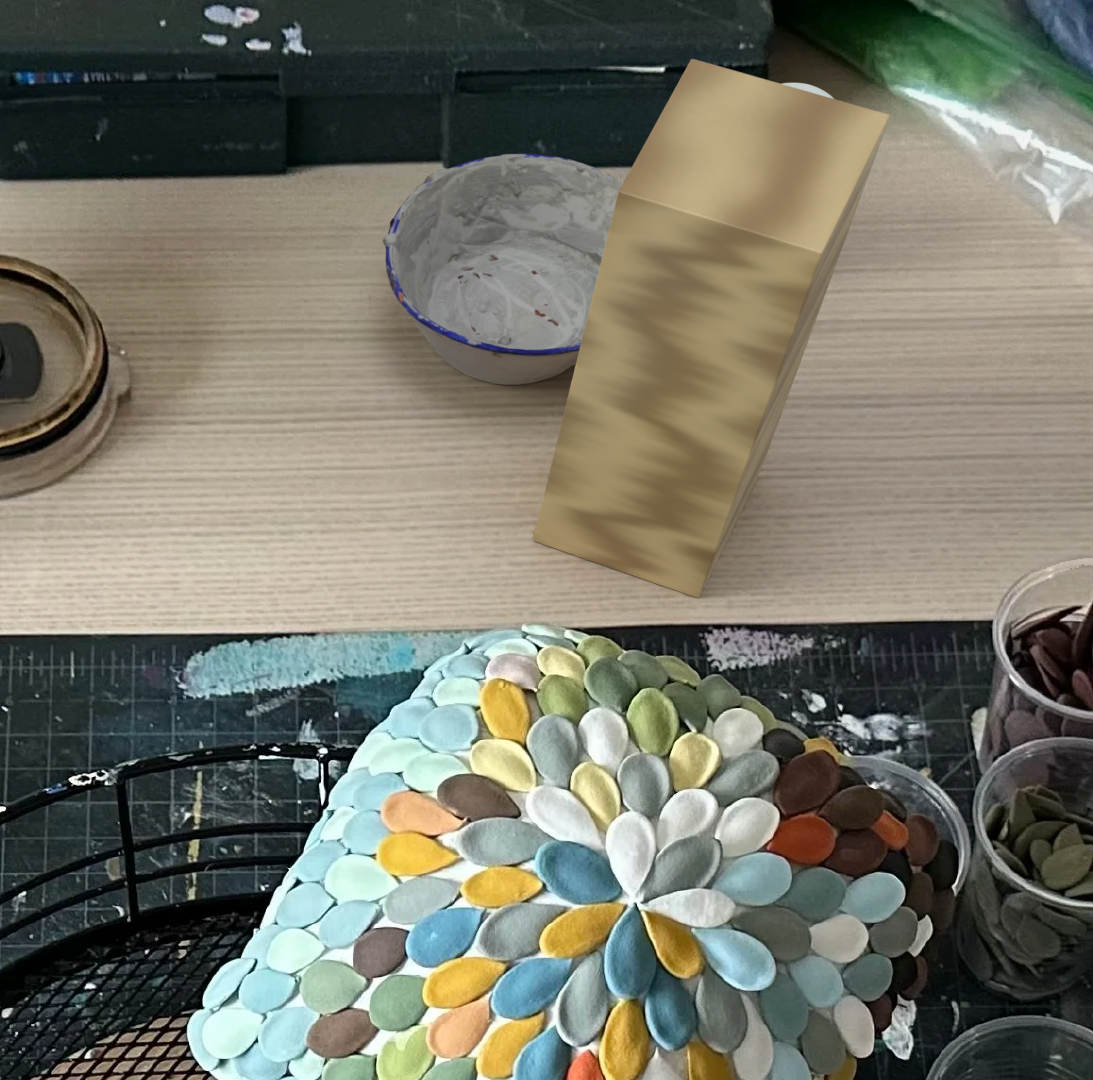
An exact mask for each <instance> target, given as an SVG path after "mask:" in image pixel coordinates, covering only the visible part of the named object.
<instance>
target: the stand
mask: <svg viewBox="0 0 1093 1080" xmlns="http://www.w3.org/2000/svg"><path fill="white" fill-rule="evenodd" d="M890 118H891V115H890V114H888V113H884V112H881V111H878V110H875V109H870V108H867V107H863V106H861V105H856V104H853V103H849V102H845V101H843V100H839V99H835V98H834V99H832V98H829V97H825V96H822V95H818V94H815V93H811V92H808V91H804V90H801V89H797V88H793V87H790V86H786V85H783V83H779V82H776V81H772V80H769V79H765V78H761V77H758V76H755V75H752V74H747V73H744V72H740V71H737V70H733V69H730V68H726V67H723V66H719V65H716V64H712V63H709V62H706V61H702V60H698V59H695V58H691V59H690V60H689V63H688V64H687V66H686V68H685V70H684V72H683V73H682V75H681V77H680V79H679V81H678V83H677V84H676V86H675V87H674V90H673V92H672V93H671V95H670V96H669V99H668V101H667V102H666V104H665V106H664V108H663V110H662V112H660V115H659V117H658V119H657V120H656V122H655V124H654V126H653V128H652V130H651V131H650V132H649V135H648V137H647V139H646V141H645V142H644V144H643V146H642V148H641V150H639V151H640V152H639V153H638V155H637V157H636V159H635V161H634V162H633V164H632V166H631V168H630V169H629V171H628V173H627V175H626V177H625V179H624V180H623V182H622V186H621V188H620V190H619V191H618V195H617V199H616V204H615V208H614V212H613V216H612V220H611V224H610V228H609V232H608V236H607V240H606V244H605V248H604V252H603V256H602V260H601V264H600V268H599V273H598V277H597V281H596V285H595V289H594V293H593V297H592V301H591V305H590V309H589V313H588V317H587V321H586V325H585V329H584V333H583V338H582V342H581V346H580V350H579V354H578V358H577V362H576V363H575V367H574V371H573V375H572V379H571V383H570V387H569V390H568V393H567V394H568V395H567V399H566V403H565V407H564V411H563V415H562V419H561V422H560V423H561V424H560V428H559V431H558V432H559V433H558V436H557V439H556V444H555V448H554V452H553V456H552V459H551V464H550V467H549V472H548V476H547V480H546V484H545V488H544V493H543V496H542V499H541V504H540V508H539V513H538V516H537V521H536V524H535V529H534V533H533V538H532V541H533V542H535V543H538V544H541V545H544V546H547V547H550V548H553V549H556V550H557V551H558V550H559V551H561V552H565V553H568V554H570V555H572V556H576V557H579V558H581V559H584V560H587V561H590V562H592V563H593V562H594V563H596V564H599V565H602V566H605V567H607V568H610V569H614V570H616V571H619V572H621V573H625V574H628V575H630V576H633V577H637V578H639V579H642V580H644V581H648V582H650V583H653V584H657V585H658V586H659V585H660V586H661V587H665V588H668V589H671V590H673V591H677V592H679V593H682V594H685V595H688V596H691V597H693V598H697V599H700V598H701V596H702V594H703V592H704V590H705V588H706V585H707V584H708V582H709V579H710V577H711V575H712V573H713V571H714V569H715V567H716V565H717V563H718V561H719V559H720V557H721V554H722V552H723V550H724V548H725V546H726V545H727V542H728V540H729V538H730V537H731V534H732V532H733V531H734V528H735V526H736V523H738V520H739V518H740V516H741V513H742V511H743V509H744V507H745V505H746V503H747V501H748V499H749V497H750V495H751V493H752V491H753V489H754V487H755V485H756V482H757V480H758V479H759V476H760V474H761V471H762V468H763V466H764V463H765V460H766V457H767V454H768V452H769V450H770V447H771V443H772V442H773V438H774V435H775V433H776V430H777V427H778V425H779V422H780V419H781V416H782V414H783V411H784V408H785V406H786V403H787V400H788V397H789V395H790V392H791V389H792V387H793V384H794V381H795V378H796V376H797V373H798V370H799V367H800V364H801V362H802V360H803V356H804V353H805V350H806V348H807V345H808V343H809V340H810V337H811V335H812V331H813V329H814V327H815V323H816V322H817V321H816V320H817V318H818V315H819V312H820V310H821V307H822V304H823V302H824V299H825V296H826V293H827V290H828V287H829V285H830V282H831V280H832V277H833V274H834V271H835V269H836V266H837V263H838V260H839V258H840V255H841V252H842V249H843V247H844V244H845V242H846V239H847V236H848V234H849V230H850V228H851V225H852V223H853V222H852V221H853V219H854V217H855V214H856V211H857V209H858V206H859V203H860V200H861V198H862V195H863V192H864V189H865V187H866V184H867V181H868V178H869V176H870V172H871V170H872V168H873V165H874V162H875V159H876V156H877V154H878V151H879V149H880V146H881V142H882V139H883V137H884V135H885V132H886V130H887V126H888V124H889V121H890Z"/></svg>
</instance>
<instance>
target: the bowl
mask: <svg viewBox="0 0 1093 1080" xmlns="http://www.w3.org/2000/svg"><path fill="white" fill-rule="evenodd" d="M622 184H623V182H621V181H619V180H618V179H617V178H615V177H614V176H612V175H610V174H607V173H605V172H603V171H601V169H599V168H596V167H594V166H591V165H588V164H585V163H583V162H579V161H577V160H573V159H569V158H564V157H558V156H555V155H554V156H553V155H548V154H547V155H546V154H538V153H528V152H527V153H504V154H501V155H494V156H488V157H482V158H479V159H474V160H469V161H466V162H464V163H461V164H458V165H455V166H451V167H450V168H441V169H437V170H436V171H435V172H433V173H431V174H430V175H428V176H427V177H426V178H425V179H424V181H423V183H422V184H419V185H418V186H416V187H415V189H414V190H413V191H412V192H411V193H410V194H409V195H408V196H407V197H406V199H405V200H404V201H403V203H402V204H401V205H400V206H399V208H398V209H397V212H395V215H394V216H393V217H391V219H390V222H389V228H388V233H387V235H385V236H384V237H383V239H382V244H383V245H384V246H385V258H384V259H385V271H386V276H387V278H388V282H389V284H390V288H391V290H392V292H393V294H394V296H395V297H396V299H397V300H398V302H399V303H400V305H401V306H402V308H403V309H404V310H405V311H406V313H407V314H408V316H409V317H410V318H411V319H412V321H413V322H414V324H415V325H416V327H417V328H418V330H419V331H420V333H421V334H422V336H423V337H424V338H425V340H426V341H427V342H428V343H429V345H430V346H431V347H432V349H433V350H434V351H435V352H436V353H437V355H438V356H439V357H440V358H442V360H444V361H445V362H446V363H447V364H448V365H450V366H451V367H452V368H454V369H455V370H457V371H459V372H460V373H462V374H463V375H466V376H468V377H470V378H473V379H476V380H479V381H482V382H486V383H490V384H493V385H505V386H507V385H512V386H513V385H514V386H515V385H518V386H519V385H526V384H533V383H537V382H540V381H545V380H549V379H551V378H553V377H556V376H558V375H560V374H562V373H563V372H565V371H566V370H569V369H570V368H571V367H573V366H574V365H576V362H577V358H578V354H579V350H580V346H581V342H582V338H583V333H584V329H585V325H586V321H587V317H588V313H589V309H590V305H591V301H592V297H593V293H594V289H595V285H596V281H597V277H598V273H599V268H600V264H601V260H602V256H603V252H604V248H605V244H606V240H607V236H608V232H609V228H610V224H611V220H612V216H613V212H614V208H615V204H616V199H617V195H618V191H619V190H620V188H621V186H622Z"/></svg>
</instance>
